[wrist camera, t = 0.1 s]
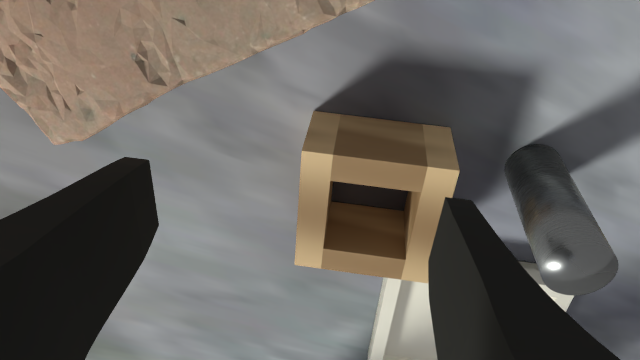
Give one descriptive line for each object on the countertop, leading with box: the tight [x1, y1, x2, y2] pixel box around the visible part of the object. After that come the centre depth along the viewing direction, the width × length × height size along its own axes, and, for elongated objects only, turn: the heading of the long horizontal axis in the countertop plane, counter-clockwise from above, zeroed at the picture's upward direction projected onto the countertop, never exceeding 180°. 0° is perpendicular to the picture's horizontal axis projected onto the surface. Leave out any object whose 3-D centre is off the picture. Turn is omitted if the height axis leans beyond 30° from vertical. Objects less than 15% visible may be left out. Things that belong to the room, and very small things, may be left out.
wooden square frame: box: [295, 111, 460, 283], centre depth 22 cm, size 6×6×4 cm
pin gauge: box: [504, 145, 618, 295], centre depth 19 cm, size 2×2×6 cm
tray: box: [368, 261, 574, 360], centre depth 27 cm, size 9×9×2 cm
